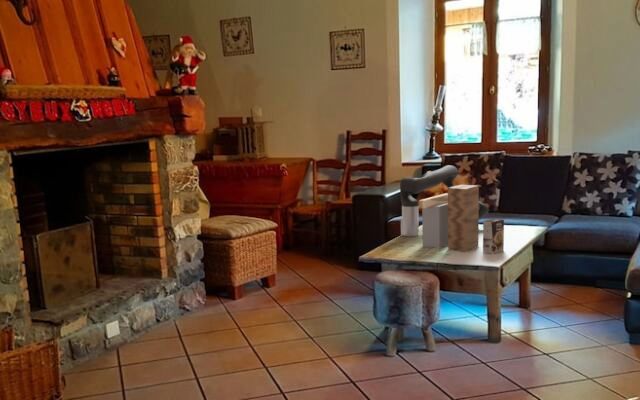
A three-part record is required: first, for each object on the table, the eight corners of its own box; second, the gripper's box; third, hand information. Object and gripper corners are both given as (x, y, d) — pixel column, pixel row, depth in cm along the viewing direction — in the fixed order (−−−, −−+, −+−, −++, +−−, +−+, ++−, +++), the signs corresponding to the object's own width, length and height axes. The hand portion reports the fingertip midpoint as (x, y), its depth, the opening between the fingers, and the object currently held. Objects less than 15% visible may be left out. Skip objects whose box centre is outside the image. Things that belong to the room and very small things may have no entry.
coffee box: (493, 254, 302) (493, 222, 300) (482, 252, 307) (482, 220, 305) (504, 251, 308) (504, 219, 305) (493, 249, 313) (493, 217, 310)
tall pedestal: (448, 249, 315) (447, 187, 310) (460, 244, 325) (460, 184, 320) (465, 252, 308) (465, 189, 304) (478, 246, 319) (478, 185, 314)
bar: (419, 208, 312) (419, 200, 312) (445, 200, 333) (445, 193, 333) (424, 208, 310) (424, 200, 310) (451, 200, 331) (451, 193, 331)
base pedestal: (422, 246, 324) (422, 205, 321) (432, 242, 332) (431, 202, 329) (439, 248, 318) (439, 206, 315) (448, 244, 326) (448, 203, 322)
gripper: (458, 194, 356) (446, 183, 344) (481, 196, 347) (470, 184, 335) (455, 206, 354) (443, 195, 342) (478, 208, 345) (466, 197, 333)
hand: (456, 190), depth 338 cm, fingers open, 8 cm apart
